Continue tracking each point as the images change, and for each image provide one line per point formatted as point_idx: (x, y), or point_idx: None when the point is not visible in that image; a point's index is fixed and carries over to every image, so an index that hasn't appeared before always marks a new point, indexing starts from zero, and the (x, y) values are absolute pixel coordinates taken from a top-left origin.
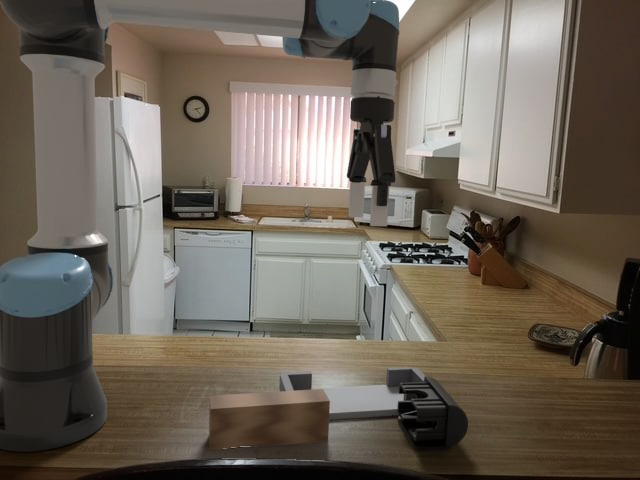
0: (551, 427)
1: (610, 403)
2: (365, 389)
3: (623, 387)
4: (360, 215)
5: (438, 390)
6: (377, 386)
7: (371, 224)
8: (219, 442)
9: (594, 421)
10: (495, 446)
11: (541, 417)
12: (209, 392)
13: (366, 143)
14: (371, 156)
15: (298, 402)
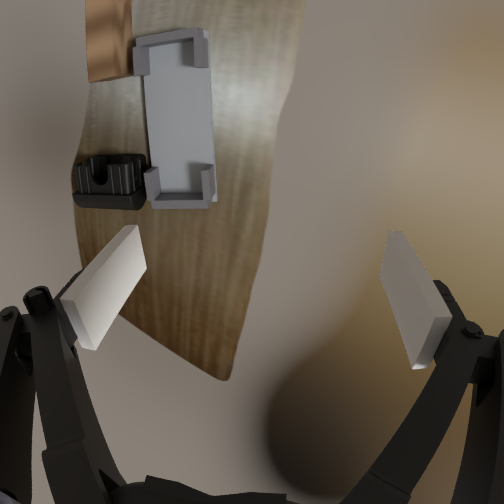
0: (138, 281)
1: (183, 346)
2: (201, 135)
3: (214, 372)
4: (383, 271)
5: (97, 196)
6: (209, 152)
7: (123, 227)
8: None
9: (151, 316)
10: (105, 223)
11: (154, 285)
12: None
13: (53, 494)
14: (47, 415)
15: (87, 51)
